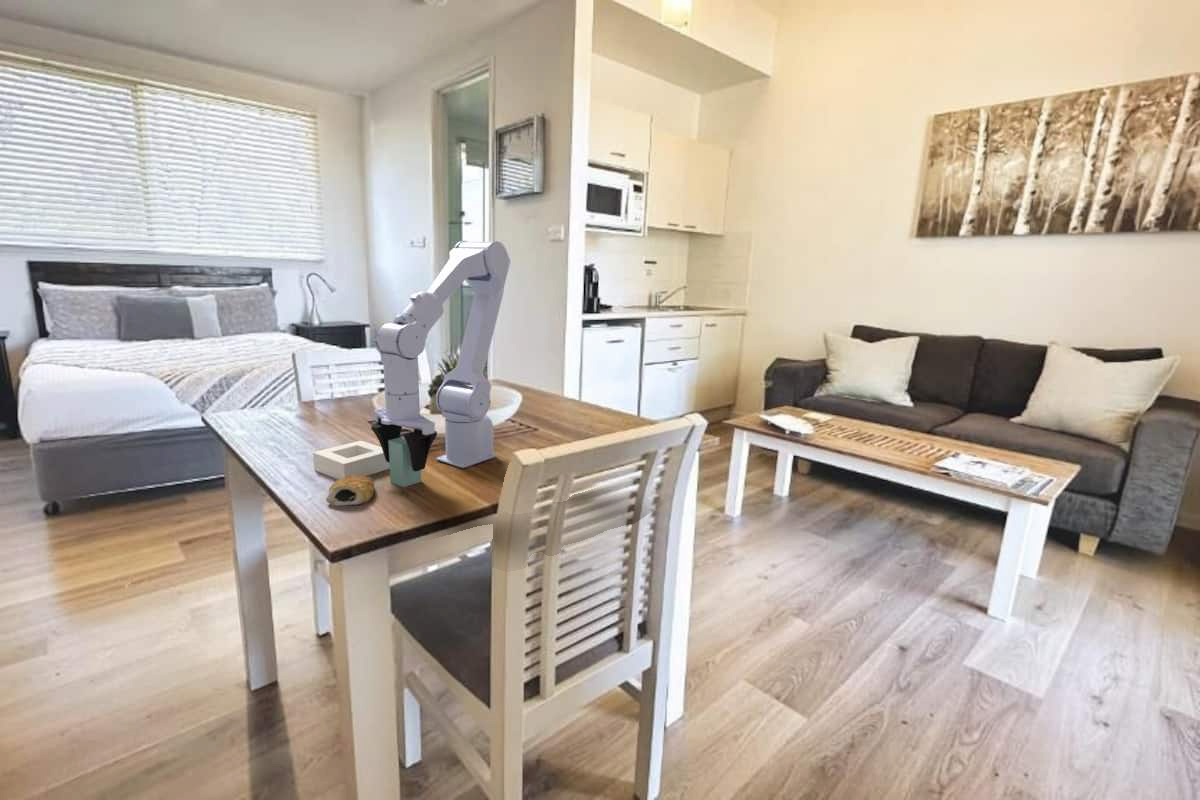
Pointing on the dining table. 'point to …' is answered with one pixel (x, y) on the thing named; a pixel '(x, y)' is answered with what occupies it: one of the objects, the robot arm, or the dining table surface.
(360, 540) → the dining table surface
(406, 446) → the post
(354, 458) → the well
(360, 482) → the pastry
